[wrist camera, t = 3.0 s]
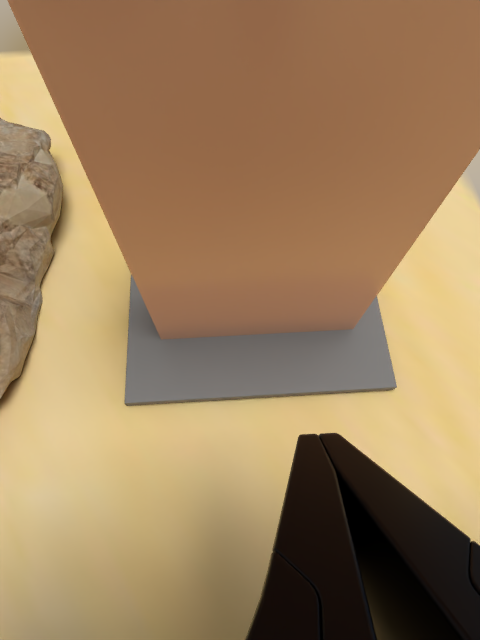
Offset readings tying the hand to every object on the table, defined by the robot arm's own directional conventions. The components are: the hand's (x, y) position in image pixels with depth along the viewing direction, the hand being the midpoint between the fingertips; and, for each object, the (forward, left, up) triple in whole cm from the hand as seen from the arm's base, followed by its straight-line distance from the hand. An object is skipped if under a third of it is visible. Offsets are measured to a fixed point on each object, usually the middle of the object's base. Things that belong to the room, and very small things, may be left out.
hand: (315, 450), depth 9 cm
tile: (0, +7, -8) cm, 11 cm away
